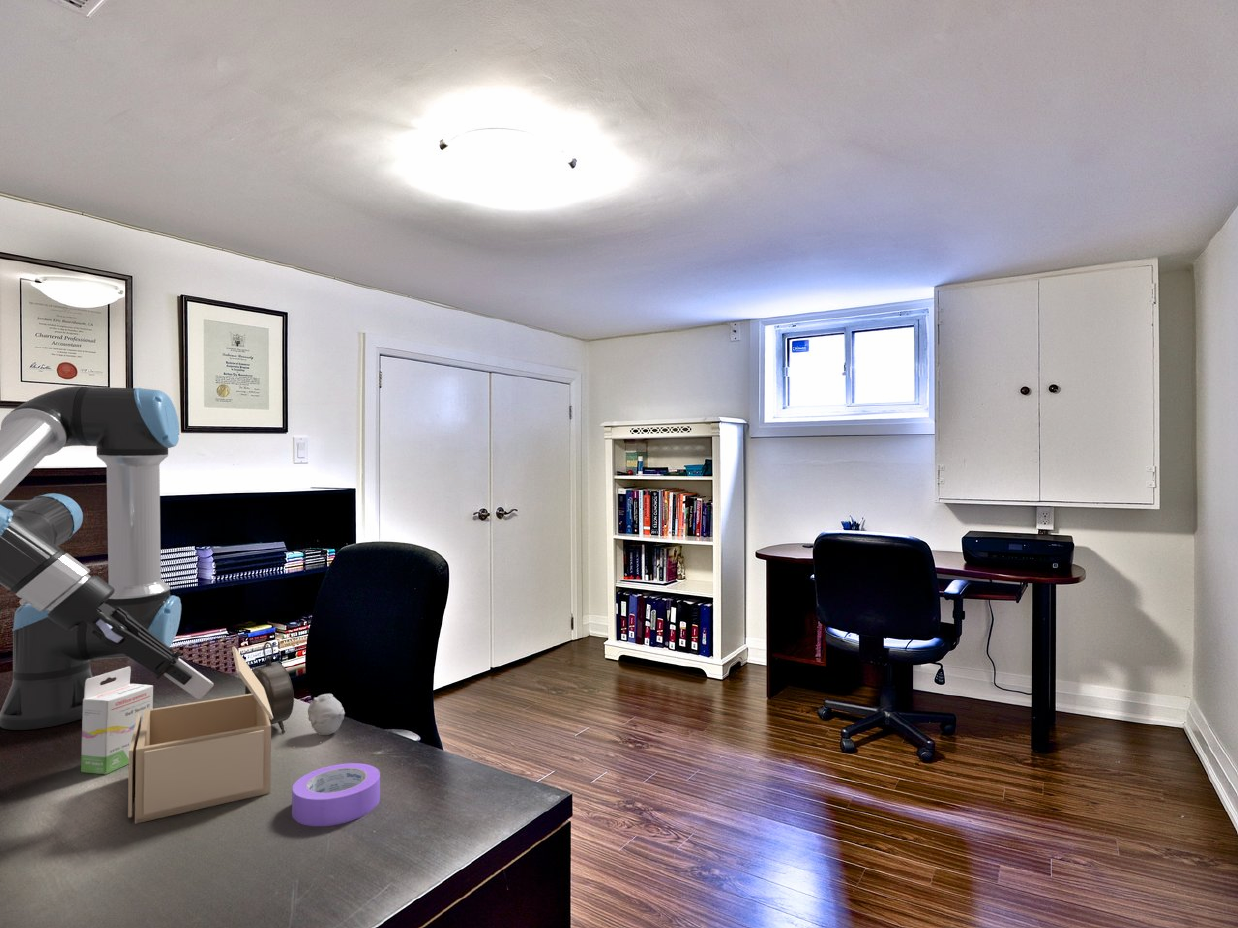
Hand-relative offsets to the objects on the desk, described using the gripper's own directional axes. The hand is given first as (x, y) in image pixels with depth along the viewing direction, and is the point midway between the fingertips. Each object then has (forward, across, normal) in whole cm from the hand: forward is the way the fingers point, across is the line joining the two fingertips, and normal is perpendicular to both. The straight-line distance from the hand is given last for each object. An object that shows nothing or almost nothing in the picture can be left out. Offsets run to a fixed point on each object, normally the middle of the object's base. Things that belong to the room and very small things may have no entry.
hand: (206, 691), depth 103 cm
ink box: (+2, -16, -19) cm, 25 cm away
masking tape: (+22, +18, +1) cm, 28 cm away
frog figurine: (+24, -11, +3) cm, 26 cm away
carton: (+10, 0, -10) cm, 14 cm away
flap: (+9, 0, +4) cm, 9 cm away
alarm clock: (+17, -19, -3) cm, 26 cm away
